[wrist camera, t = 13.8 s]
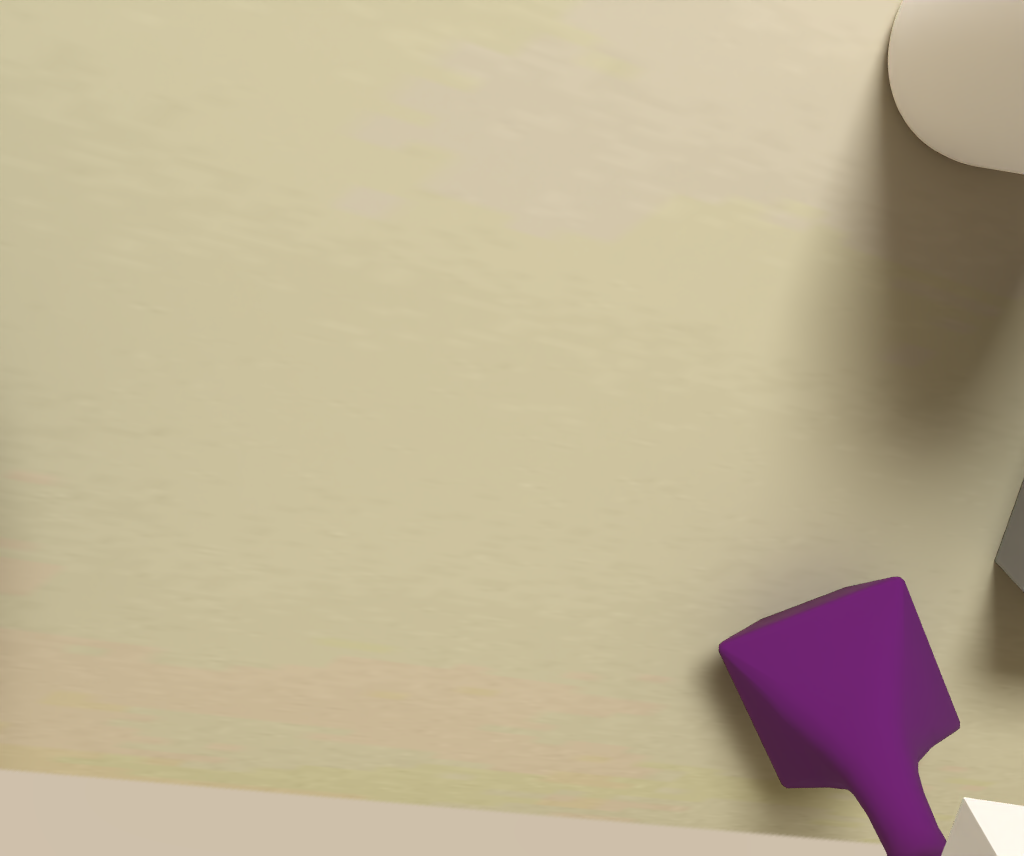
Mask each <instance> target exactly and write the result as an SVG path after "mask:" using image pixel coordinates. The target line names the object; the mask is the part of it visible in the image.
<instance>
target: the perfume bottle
mask: <svg viewBox="0 0 1024 856" xmlns="http://www.w3.org/2000/svg"><path fill="white" fill-rule="evenodd" d="M719 653H720V655H721V657H722V659H723V661H724V663H725V665H726V667H727V670H728V672H729V674H730V676H731V678H732V680H733V682H734V684H735V686H736V689H737V691H738V693H739V695H740V697H741V699H742V701H743V703H744V705H745V708H746V710H747V712H748V714H749V716H750V718H751V720H752V722H753V725H754V727H755V729H756V731H757V733H758V735H759V737H760V739H761V741H762V744H763V746H764V748H765V750H766V752H767V754H768V756H769V758H770V761H771V763H772V765H773V767H774V769H775V771H776V773H777V775H778V777H779V780H780V782H781V784H782V785H783V786H785V787H786V788H822V787H829V788H839V789H848V790H849V791H850V792H851V793H852V794H854V796H855V797H856V799H857V800H858V802H859V803H860V805H861V806H862V808H863V809H864V811H865V812H866V814H867V815H868V817H869V819H870V821H871V823H872V825H873V827H874V829H875V831H876V833H877V835H878V837H879V839H880V841H881V843H882V845H883V847H884V849H885V851H886V853H887V856H941V855H942V852H943V849H944V847H945V844H946V842H947V841H946V839H945V838H944V836H943V834H942V833H941V831H940V829H939V828H938V826H937V823H936V821H935V818H934V816H933V813H932V811H931V809H930V806H929V804H928V801H927V799H926V797H925V794H924V792H923V788H922V784H921V781H920V777H919V773H918V762H919V761H920V760H921V759H922V757H923V756H924V755H925V754H926V753H927V752H928V751H929V750H930V748H931V747H933V746H934V745H936V744H937V743H939V742H940V741H942V740H943V739H945V738H946V737H948V736H949V735H951V734H952V733H954V732H955V731H957V730H958V729H959V728H960V721H959V719H958V716H957V713H956V711H955V708H954V706H953V703H952V701H951V698H950V696H949V693H948V691H947V688H946V686H945V683H944V680H943V678H942V675H941V673H940V670H939V668H938V665H937V663H936V660H935V658H934V655H933V652H932V650H931V647H930V645H929V642H928V640H927V637H926V635H925V632H924V630H923V627H922V624H921V622H920V619H919V617H918V614H917V612H916V609H915V607H914V604H913V602H912V599H911V596H910V594H909V591H908V589H907V586H906V584H905V581H904V580H903V579H902V578H900V577H890V578H886V579H881V580H877V581H872V582H867V583H863V584H858V585H854V586H849V587H845V588H842V589H839V590H837V591H834V592H832V593H829V594H826V595H824V596H821V597H818V598H816V599H813V600H811V601H808V602H805V603H803V604H800V605H797V606H795V607H792V608H790V609H787V610H784V611H782V612H779V613H776V614H774V615H771V616H769V617H766V618H763V619H761V620H759V621H757V622H756V623H754V624H752V625H750V626H749V627H747V628H745V629H743V630H742V631H740V632H738V633H737V634H735V635H733V636H731V637H730V638H728V639H726V640H725V641H723V642H722V643H721V644H719Z"/></svg>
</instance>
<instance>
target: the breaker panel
mask: <svg viewBox="0 0 1024 856" xmlns="http://www.w3.org/2000/svg"><path fill="white" fill-rule="evenodd" d="M995 562H996V563H997V564H998V565H999V566H1000V567H1001V568H1002V569H1003V570H1004V571H1005V573H1006V574H1007V575H1008V576H1009V577H1010V578H1011V579H1012V580H1013V581H1014V582H1015V583H1016V584H1017V586H1018V587H1019V588H1020V589H1021V590H1022V591H1023V592H1024V481H1023V484H1022V487H1021V489H1020V492H1019V495H1018V498H1017V501H1016V503H1015V506H1014V509H1013V512H1012V514H1011V517H1010V520H1009V523H1008V526H1007V528H1006V531H1005V534H1004V537H1003V539H1002V542H1001V545H1000V548H999V551H998V553H997V556H996V559H995Z"/></svg>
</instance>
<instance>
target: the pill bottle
mask: <svg viewBox="0 0 1024 856" xmlns="http://www.w3.org/2000/svg"><path fill="white" fill-rule="evenodd" d="M888 73H889V81H890V86H891V90H892V94H893V97H894V100H895V103H896V105H897V108H898V110H899V112H900V114H901V115H902V117H903V119H904V121H905V122H906V123H907V125H908V126H909V128H910V129H911V130H912V131H913V132H914V134H915V135H916V136H917V137H918V138H919V139H920V140H922V141H923V142H924V143H925V144H926V145H928V146H929V147H930V148H932V149H933V150H935V151H937V152H938V153H940V154H942V155H944V156H946V157H948V158H950V159H952V160H955V161H957V162H960V163H963V164H967V165H971V166H976V167H982V168H988V169H994V170H1000V171H1006V172H1012V173H1018V174H1024V0H903V1H902V3H901V5H900V7H899V10H898V12H897V15H896V18H895V21H894V24H893V27H892V31H891V36H890V42H889V49H888Z"/></svg>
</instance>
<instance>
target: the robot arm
mask: <svg viewBox="0 0 1024 856" xmlns="http://www.w3.org/2000/svg"><path fill="white" fill-rule="evenodd" d="M941 856H1024V806H1019V805H1013V804H1006V803H999V802H993V801H986V800H979V799H972V798H966V797H963V799H962V802H961V805H960V807H959V810H958V813H957V815H956V818H955V820H954V823H953V826H952V828H951V831H950V834H949V836H948V839H947V842H946V844H945V847H944V849H943V852H942V855H941Z"/></svg>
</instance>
